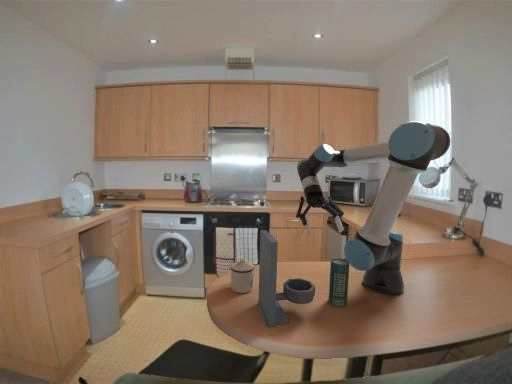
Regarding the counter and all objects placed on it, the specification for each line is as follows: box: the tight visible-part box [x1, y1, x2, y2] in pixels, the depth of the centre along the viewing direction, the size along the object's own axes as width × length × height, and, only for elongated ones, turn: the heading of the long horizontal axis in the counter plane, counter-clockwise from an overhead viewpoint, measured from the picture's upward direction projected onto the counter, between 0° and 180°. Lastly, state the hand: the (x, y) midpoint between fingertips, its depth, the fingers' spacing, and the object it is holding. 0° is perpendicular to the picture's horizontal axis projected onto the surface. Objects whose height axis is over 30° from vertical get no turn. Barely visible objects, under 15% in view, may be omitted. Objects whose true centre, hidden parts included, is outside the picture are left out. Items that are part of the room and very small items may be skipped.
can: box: [328, 257, 350, 307], centre depth 94 cm, size 6×6×15 cm
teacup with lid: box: [230, 258, 255, 294], centre depth 104 cm, size 12×9×12 cm
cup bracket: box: [257, 229, 316, 328], centre depth 86 cm, size 17×14×26 cm
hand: (325, 231), depth 103 cm, fingers open, 13 cm apart
